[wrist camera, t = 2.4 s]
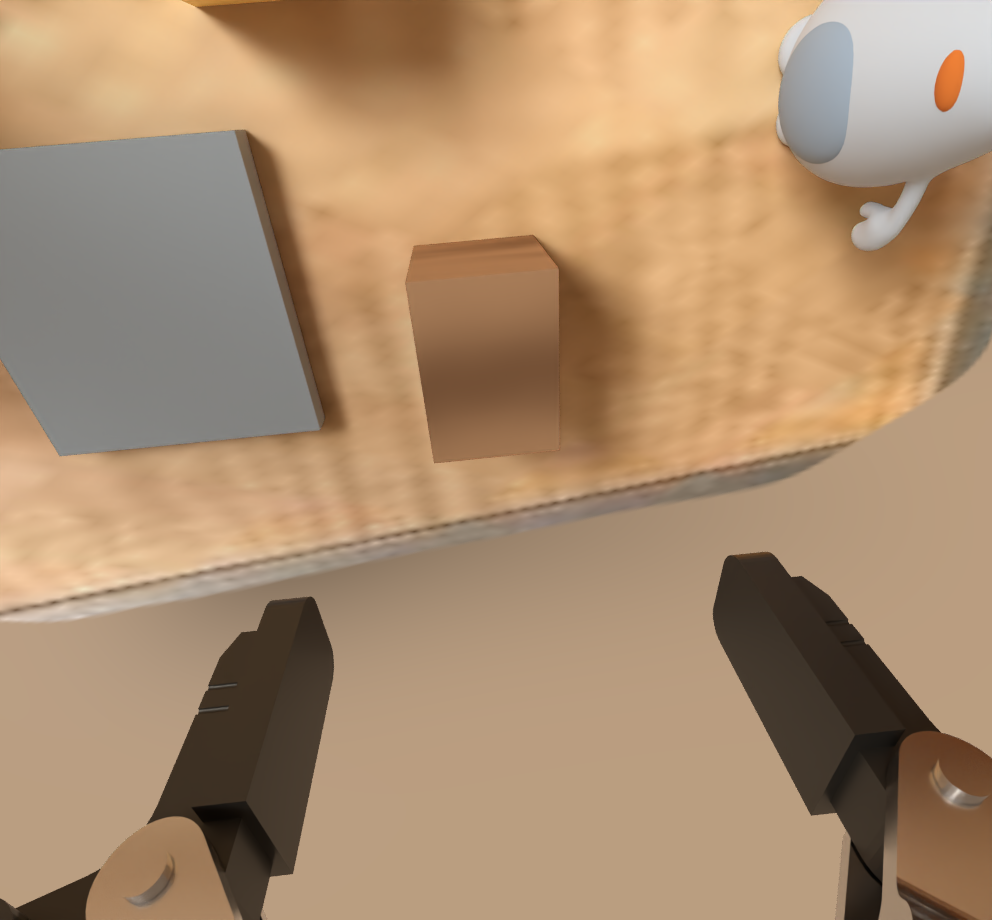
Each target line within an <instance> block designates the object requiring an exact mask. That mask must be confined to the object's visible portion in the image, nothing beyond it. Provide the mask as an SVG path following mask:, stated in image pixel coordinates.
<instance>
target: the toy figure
mask: <svg viewBox="0 0 992 920" xmlns="http://www.w3.org/2000/svg"><path fill="white" fill-rule="evenodd" d="M778 63H779V68H780V71H781V73H782V74H783V77H782V81H781V85H780V91H779V101H778V110H779V114H778V116H777V121H776V131H777V135H778V138H779V139H780V141H781V142H782V143H784V144H785V145H787V146H789V148H790V150H791V151H792V153H793V154H794V156H795V157H796V158H797V160H798V161H799V162H800V163H801V164H802V165H803V166H804V167H805V168H806V169H807V170H809V171H810V172H811V173H813V174H814V175H816V176H818V177H820V178H822V179H824V180H826V181H829V182H832V183H835V184H839V185H843V186H850V187H880V186H888V185H894V184H898V183H902V182H906V184H905V186H904V189H903V191H902V193H901V195H900V197H899V199H898V201H897V203H896V205H895V206H894V207H893V208H890V207H886V206H883V205H882V204H879V203H876V202H867V203H865V204H864V205H863V206H862V207H861V208H860V215H861V216H863V217H865V218H868V219H867V220H866V221H863V222H860V223H858V224H857V225H856V226H855V227H854V228H853V230H852V233H851V239H852V242H853V244H854V245H855V246H856V247H857V248H858V249H860V250H864V251H873V250H877V249H880V248H882V247H883V246H885V245H886V244H888V243H889V242H890V241H892V240H893V239H894V238H895V237H896V236H897V235H898V234H899V233H900V232H901V230H902V229H903V228H904V226H905V225H906V223H907V222H908V220H909V219H910V217H911V216H912V214H913V212H914V211H915V209H916V207H917V206H918V204H919V202H920V200H921V198H922V196H923V194H924V192H925V190H926V188H927V186H928V184H929V182H930V181H931V180H932V179H933V178H934V177H936V176H938V175H939V174H941V173H943V172H945V171H947V170H949V169H951V168H954V167H956V166H959V165H961V164H964V163H966V162H969V161H971V160H973V159H975V158H978V157H980V156H982V155H984V154H986V153H988V152H990V151H992V0H823V2H822V3H821V4H820V5H819V7H818V8H817V9H816V11H815V12H814V13H813V14H812V15H809V16H806V17H804V18H803V19H801V20H799V21H798V22H797V23H796V24H794V25H793V26H792V27H791V28H790V29H789V31H788V32H787V33H786V35H785V37H784V39H783V41H782V43H781V46H780V49H779V55H778Z"/></svg>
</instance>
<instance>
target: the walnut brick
mask: <svg viewBox="0 0 992 920" xmlns="http://www.w3.org/2000/svg"><path fill="white" fill-rule="evenodd" d="M405 284H406V290H407V296H408V302H409V309H410V315H411V321H412V327H413V334H414V340H415V346H416V352H417V359H418V365H419V371H420V377H421V384H422V390H423V396H424V403H425V409H426V415H427V421H428V428H429V434H430V440H431V446H432V453H433V459H434V463H441V462H451V461H461V460H470V459H480V458H490V457H499V456H509V455H519V454H528V453H538V452H547V451H557V450H560V412H559V268H558V267H557V265H556V264H555V263H554V262H553V260H552V259H551V258H550V256H549V255H548V254H547V253H546V251H545V250H544V249H543V247H542V246H541V245H540V243H539V242H538V241H537V240H536V238H535V237H534V236H533V235H529V236H518V237H507V238H495V239H484V240H473V241H462V242H451V243H440V244H429V245H418V246H414V248H413V252H412V256H411V261H410V265H409V269H408V273H407V278H406V282H405Z"/></svg>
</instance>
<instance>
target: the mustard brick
mask: <svg viewBox="0 0 992 920" xmlns="http://www.w3.org/2000/svg"><path fill="white" fill-rule="evenodd" d="M182 1H184V2H186V3H189V4H191V5H193V6H195V7H200V6H214V5H227V4H241V3H254V2H268V1H281V0H182Z"/></svg>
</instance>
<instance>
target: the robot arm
mask: <svg viewBox="0 0 992 920" xmlns="http://www.w3.org/2000/svg"><path fill="white" fill-rule="evenodd" d="M713 620H714V626H715V630H716V633H717V636H718V639H719V640H720V643H721V645H722V647H723V649H724V650H725V652H726V654H727V656H728V658H729V660H730V662H731V664H732V666H733V668H734V669H735V671H736V673H737V675H738V677H739V679H740V681H741V683H742V685H743V687H744V689H745V691H746V692H747V694H748V696H749V698H750V700H751V702H752V704H753V706H754V707H755V710H756V711H757V713H758V715H759V717H760V719H761V721H762V722H763V725H764V727H765V729H766V731H767V732H768V734H769V736H770V738H771V740H772V742H773V744H774V746H775V748H776V749H777V751H778V753H779V755H780V757H781V759H782V761H783V763H784V765H785V766H786V768H787V771H788V772H789V774H790V776H791V778H792V780H793V782H794V784H795V786H796V788H797V790H798V791H799V793H800V795H801V797H802V799H803V801H804V803H805V805H806V806H807V809H808V811H809V812H810V814H811V815H819V814H829V813H837V815H838V816H839V818H840V820H841V822H842V824H843V825H844V827H845V829H846V832H845V834H844V836H843V841H842V852H841V863H840V873H839V884H838V895H837V906H836V917H835V920H992V758H991V757H990V756H988V755H987V754H986V753H984V752H983V751H981V750H980V749H978V748H977V747H975V746H973V745H971V744H970V743H968V742H966V741H964V740H961V739H959V738H957V737H954V736H951V735H948V734H945V733H941V732H940V731H939V730H938V729H937V728H936V727H935V726H934V725H933V723H932V722H931V721H930V720H929V719H928V718H927V716H926V715H925V714H924V713H923V711H922V710H921V709H920V708H919V706H918V705H917V704H916V703H915V702H914V700H913V699H912V698H911V697H910V695H909V694H908V693H907V692H906V690H905V689H904V688H903V687H902V685H901V684H900V683H899V682H898V680H897V679H896V678H895V677H894V676H893V674H892V673H891V672H890V671H889V669H888V668H887V667H886V666H885V664H884V663H883V662H882V661H881V659H880V658H879V657H878V656H877V655H876V653H875V652H874V651H873V649H872V648H871V647H870V646H869V645H868V644H867V645H866V644H865V642H864V638H863V637H862V636H861V635H860V633H859V632H858V631H857V630H856V629H855V627H854V626H853V625H852V624H849V623H848V618H847V617H846V616H845V615H844V614H843V612H842V611H841V610H840V609H839V607H838V606H837V605H836V604H835V602H834V601H833V600H832V599H831V597H830V596H829V595H828V594H826V593H825V592H823V591H822V590H820V589H819V588H818V587H816V586H815V585H813V584H812V583H811V582H809V581H808V580H807V579H805V578H804V577H802V576H799V577H791V576H790V575H789V574H788V573H787V571H786V570H785V569H784V567H783V566H782V565H781V563H780V562H779V561H778V559H777V558H776V557H775V556H774V555H773V554H772V553H769V552H760V553H750V554H740V555H730V556H728V557H727V558H726V559H725V561H724V565H723V569H722V573H721V578H720V582H719V586H718V590H717V595H716V599H715V603H714V608H713ZM333 672H334V659H333V651H332V647H331V644H330V641H329V638H328V636H327V632H326V629H325V627H324V624H323V621H322V619H321V615H320V612H319V610H318V607H317V604H316V602H315V600H314V598H312V597H302V598H293V599H282V600H273V601H270V602H269V603H268V604H267V606H266V608H265V611H264V614H263V616H262V619H261V621H260V624H259V627H258V629H257V631H251V632H242V633H241V634H240V635H239V636H238V637H237V638H236V640H235V641H234V642H233V643H232V644H231V646H230V647H229V648H228V649H227V650H226V651H225V652H224V653H223V655H222V656H221V657H220V659H219V661H218V664H217V666H216V668H215V671H214V673H213V675H212V678H211V680H210V682H209V685H208V686H209V689H208V691H206V692H205V694H204V697H203V699H202V702H201V704H200V706H199V708H198V709H199V713H198V715H195V718H194V720H193V723H192V725H191V727H190V730H189V732H188V734H187V737H186V739H185V741H184V744H183V746H182V749H181V751H180V753H179V756H178V758H177V760H176V763H175V765H174V767H173V770H172V772H171V774H170V777H169V779H168V782H167V784H166V786H165V789H164V791H163V794H162V796H161V798H160V801H159V803H158V805H157V807H156V809H155V811H154V813H153V815H152V817H151V818H150V820H149V822H148V823H147V825H146V826H144V827H142V828H141V829H139V830H138V831H136V832H135V833H133V834H132V835H131V836H130V837H128V838H127V839H126V840H125V841H124V842H123V843H122V844H120V846H118V847H117V849H116V850H115V851H114V852H113V853H112V854H111V855H110V856H109V858H108V859H107V861H106V862H105V863H104V865H103V866H102V867H101V869H99V870H98V871H96V872H94V873H92V874H90V875H88V876H86V877H84V878H82V879H80V880H77V881H75V882H73V883H71V884H68V885H66V886H64V887H62V888H60V889H57V890H55V891H53V892H51V893H49V894H46V895H44V896H42V897H40V898H37V899H35V900H33V901H31V902H29V903H26V904H24V905H22V906H20V907H18V908H14V907H13V906H11V905H10V904H8V903H7V902H5V901H4V900H2V899H0V920H267V918H266V915H265V913H264V911H263V909H262V908H263V903H264V898H265V895H266V890H267V886H268V882H269V878H270V877H271V876H280V875H288V874H293V871H294V866H295V861H296V856H297V851H298V846H299V841H300V836H301V831H302V826H303V822H304V817H305V812H306V807H307V802H308V798H309V793H310V788H311V783H312V778H313V773H314V768H315V763H316V759H317V754H318V749H319V744H320V739H321V734H322V729H323V724H324V720H325V715H326V710H327V705H328V700H329V695H330V690H331V686H332V680H333Z"/></svg>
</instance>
